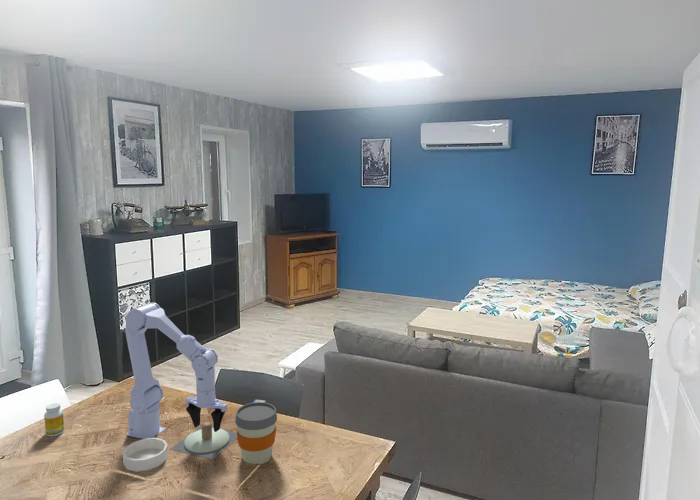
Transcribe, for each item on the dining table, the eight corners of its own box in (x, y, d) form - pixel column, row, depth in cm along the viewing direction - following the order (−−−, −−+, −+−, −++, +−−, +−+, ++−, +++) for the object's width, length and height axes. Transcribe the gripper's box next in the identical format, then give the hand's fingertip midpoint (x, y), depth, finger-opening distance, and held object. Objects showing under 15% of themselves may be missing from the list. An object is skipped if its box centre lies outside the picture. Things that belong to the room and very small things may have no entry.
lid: (174, 448, 149) (174, 431, 148) (202, 427, 162) (202, 411, 161) (212, 457, 144) (211, 439, 143) (237, 434, 157) (237, 418, 157)
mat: (170, 450, 148) (170, 449, 148) (201, 426, 163) (201, 425, 163) (213, 461, 143) (213, 459, 143) (241, 435, 158) (241, 433, 158)
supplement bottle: (44, 432, 158) (42, 405, 157) (62, 427, 162) (61, 400, 160) (46, 438, 154) (44, 411, 153) (65, 433, 157) (63, 406, 156)
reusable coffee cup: (284, 450, 150) (284, 405, 148) (264, 472, 138) (264, 424, 136) (249, 442, 154) (249, 399, 152) (227, 463, 142) (226, 416, 140)
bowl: (114, 467, 139) (114, 455, 139) (144, 446, 150) (144, 435, 150) (147, 476, 135) (146, 463, 135) (175, 454, 146) (175, 442, 146)
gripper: (232, 386, 152) (233, 426, 154) (194, 380, 157) (196, 418, 159) (219, 395, 145) (220, 437, 147) (180, 388, 150) (182, 428, 152)
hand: (207, 428), depth 152 cm, fingers open, 7 cm apart
